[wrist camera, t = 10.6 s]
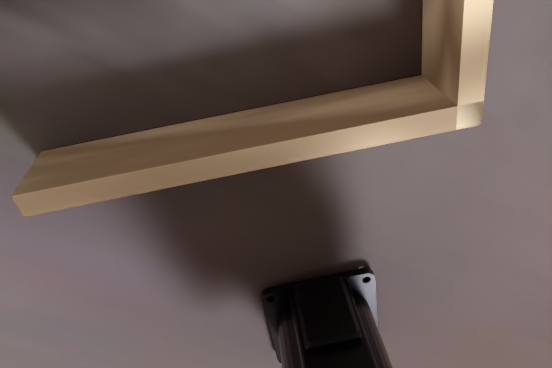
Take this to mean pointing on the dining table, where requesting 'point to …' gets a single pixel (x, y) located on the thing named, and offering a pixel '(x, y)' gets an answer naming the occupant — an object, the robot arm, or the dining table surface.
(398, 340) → the dining table surface
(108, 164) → the u-shaped wooden frame
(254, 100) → the dining table surface
